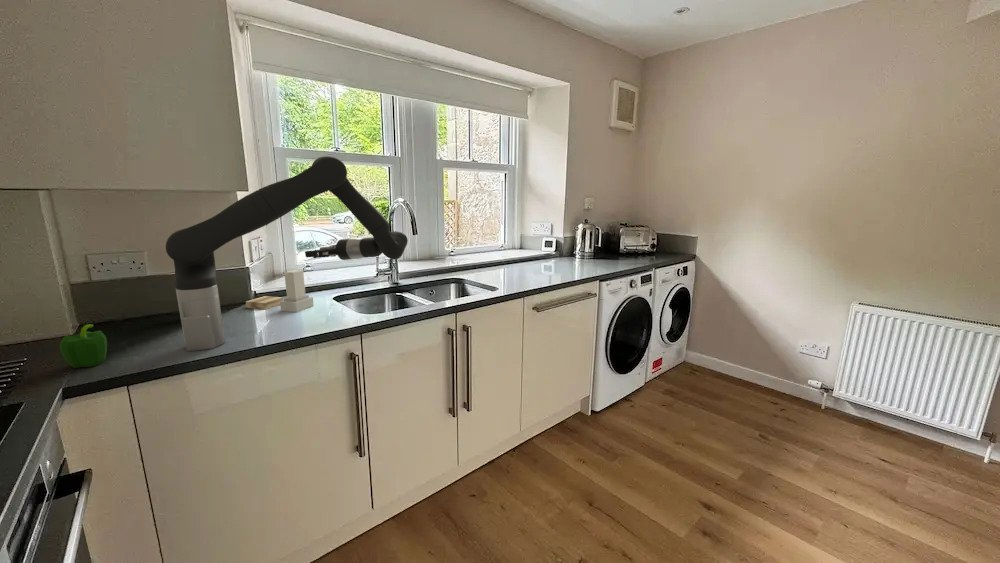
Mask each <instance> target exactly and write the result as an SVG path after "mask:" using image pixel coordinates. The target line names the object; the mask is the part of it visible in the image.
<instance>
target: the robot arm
mask: <svg viewBox="0 0 1000 563" xmlns="http://www.w3.org/2000/svg"><path fill="white" fill-rule="evenodd" d="M347 176H348V168H347V167H346V165H345V163H344V162H343V161H342V160H340V159H339V158H337V157H335V156H329V155H327V156H326V155H325V156H320V157H317V158H316V159H315V160H314V161H313V162H312V164H311V166H309V167H308V168H306V169H304V170H303V171H302V172H300V173H298V174H296V175H293V176H292V177H290V178H286V179H283V180H279V181H276V182H274V183H270V184H268V185H266V186H263V187H261V188H259V189H258V190H255V191H253V192H251V193H249V194H246V196H244V197H242V198H240V199H238V200H237V201H235V202H233V203H232V204H231V205H230V204H229V206H227V207H226V208H224V209H223V210H222V211H220V212H219V213H217V214H216V215H214V216H212V217H210V218H208V219H206V220H203V221H201V222H199V223H197V224H194V225H191V226H189V227H186V228H183V229H179V230H176V231H174V232H173V233H171V234H170V235H169V237H168V238H167V239H166V242H165V252H166V254H167V256H168V257H169V258H171V260H173V266H174V279H173V282H174V287H175V292H176V294H175V295H176V299H177V303H178V304H177V305H178V310H179V315H180V317H179V318H180V322H181V326H182V333H183V340H184V346H185V349H186V351H187V352H192V351H193V352H194V351H195V352H196V351H201V350H202V351H203V350H212V349H213V350H214V349H215V348H216V347H218V346H221V345H223V344H225V343H226V338H225V329H224V324H223V322H224V321H223V315H222V310H221V302H220V296H219V290H218V282H217V266H216V260H215V251H217V250H218V249H220V248H221V247H222V246H224V245H226V244H227V243H230V242H232V241H233V240H234V239H237V238H239V237H242V236H245V235H248V234H250V233H252V232H254V231H257V230H259V229H261V228H263V227H265V226H267V225H269V224H271V223H273V222H275V221H277V220H279V219H280V218H282V217H283V216H285V215H287V214H288V213H290V212H291V211H294V210H295V209H296V208H298V207H300V206H301V205H303V204H304V203H305V202H307V201H308V200H311V199H313V198H314V197H317V196H319V195H321V194H323V193H326V192H328V191H329V192H330V193H331V194H332V195H334V196H335V198H337V199H338V200H339V201H340V202H341V203H342V204H343V205H344V206H345V207H346V208H347V210H349V212H350V213H351V214H352V215H353V216H354V217H355V218H356V219H357V221H358V222H359V223H360V224H361V225H362V226H363V227H364V228H365V230H367V232H368V233H370V235H371V236H372V237H354V238H353V237H352V238H343V239H342V238H341V239H339V240H337V242H336V244H331V245H329V246H322V247H320V248H319V249H313V250H305V251H304V254H305V257H306V258H313V259H318V258H319V259H321V258H329V257H331V258H333V257H336V256H337V257H338V259H340V260H341V261H349V260H350V261H351V260H359V259H360V260H361V259H366V258H375V257H376V258H377V257H379V256H381V255H382V254H383V255H384V256H385V257H386V258H388V259H389V260H399V259H401V257H402V256H403V254H404V252H405V250H406V247H407V245H408V240H409V238H408V237H407V235H406V234H405V233H403V232H402V231H401V232H400V231H395V230H394V231H390V229H391V225H390V222H388V220H387V219H386V218H385V216H384V215H383V214H382V213H381V211H379V210H378V209H377V208H376V207H375V206H374V205H373V204H372V203H371V202H370V201H369V200H367V198H365V196H363V195H362V194H361V192H359V191H358V190H357V189H356V187H355V186H354V185H353V184H352V183H351V181H350V180H349V179H348V177H347Z"/></svg>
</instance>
